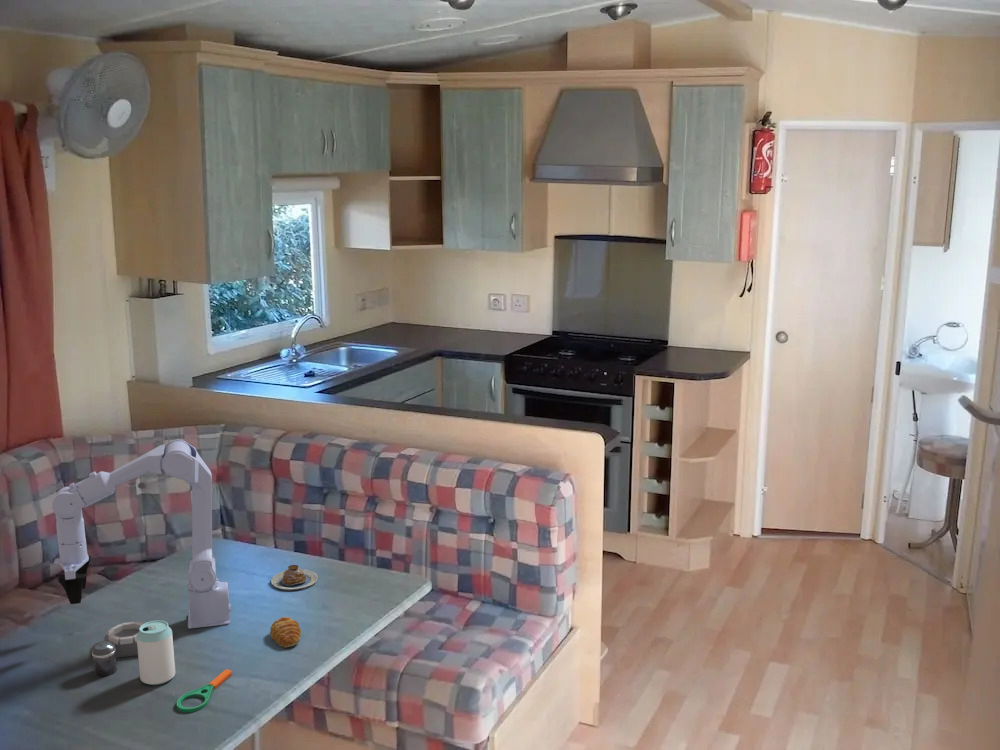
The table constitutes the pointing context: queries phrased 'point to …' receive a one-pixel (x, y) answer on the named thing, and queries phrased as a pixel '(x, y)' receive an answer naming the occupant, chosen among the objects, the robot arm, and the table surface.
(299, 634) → the pastry
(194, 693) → the magnifying glass
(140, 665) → the can
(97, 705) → the table surface
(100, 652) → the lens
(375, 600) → the table surface
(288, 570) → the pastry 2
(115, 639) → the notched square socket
